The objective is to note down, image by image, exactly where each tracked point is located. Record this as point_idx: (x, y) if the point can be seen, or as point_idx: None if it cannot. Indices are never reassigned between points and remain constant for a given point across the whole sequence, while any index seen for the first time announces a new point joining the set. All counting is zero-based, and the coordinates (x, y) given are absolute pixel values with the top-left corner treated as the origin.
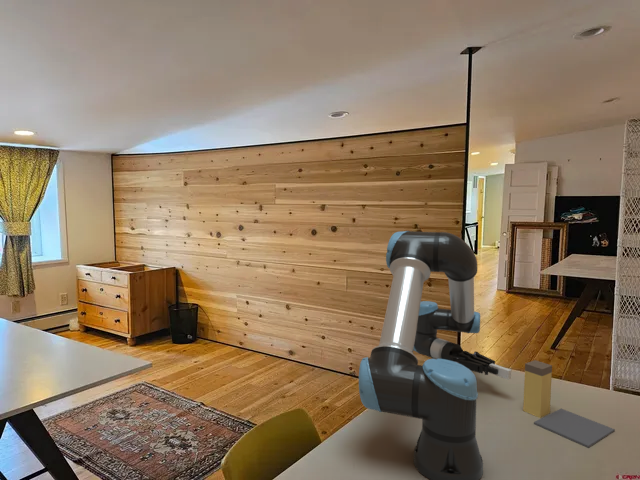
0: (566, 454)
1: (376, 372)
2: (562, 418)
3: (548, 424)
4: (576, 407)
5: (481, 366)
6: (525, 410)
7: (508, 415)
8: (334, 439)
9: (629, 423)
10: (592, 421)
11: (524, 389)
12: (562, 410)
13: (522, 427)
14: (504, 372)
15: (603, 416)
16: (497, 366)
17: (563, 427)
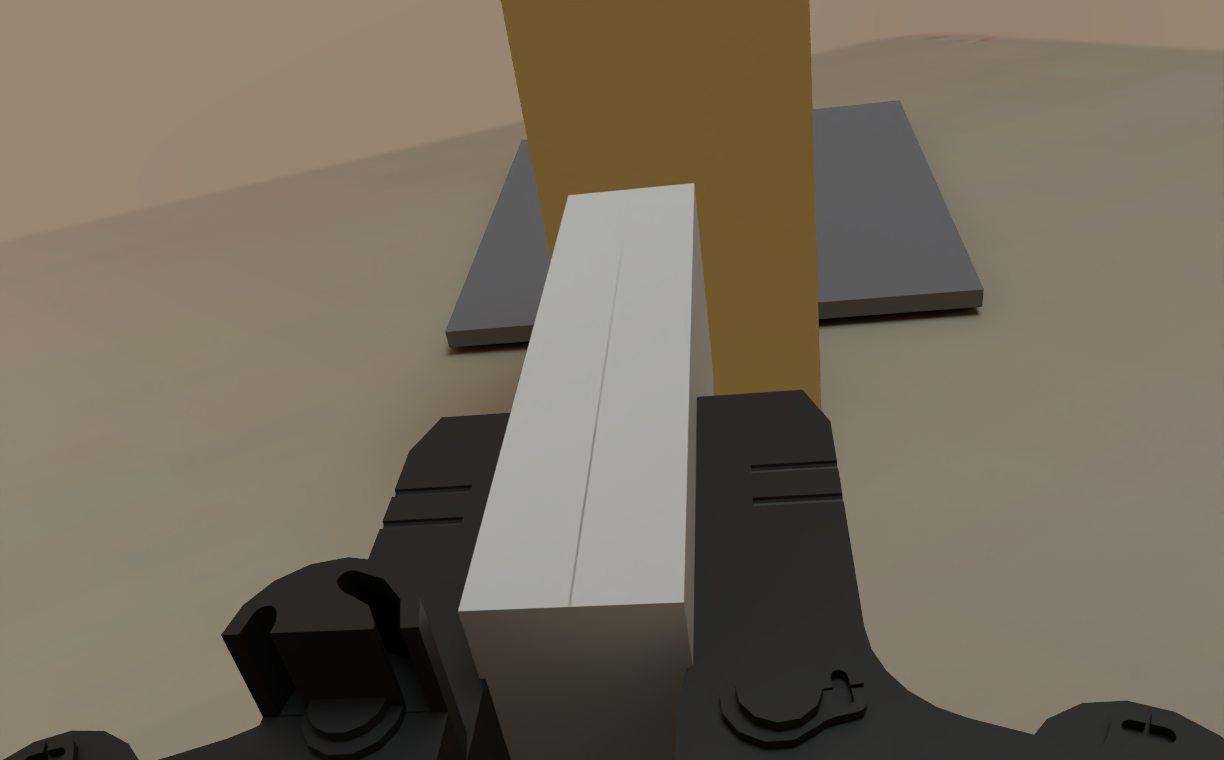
0: (1113, 117)
1: None
2: None
3: (886, 243)
4: (267, 342)
5: (1179, 749)
6: None
7: (1112, 486)
8: None
9: (323, 177)
10: (512, 196)
11: (812, 181)
12: (483, 313)
13: (1158, 320)
14: (698, 304)
15: (317, 238)
16: (634, 378)
17: None
